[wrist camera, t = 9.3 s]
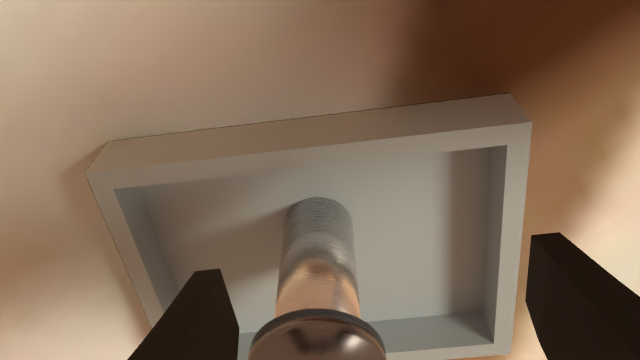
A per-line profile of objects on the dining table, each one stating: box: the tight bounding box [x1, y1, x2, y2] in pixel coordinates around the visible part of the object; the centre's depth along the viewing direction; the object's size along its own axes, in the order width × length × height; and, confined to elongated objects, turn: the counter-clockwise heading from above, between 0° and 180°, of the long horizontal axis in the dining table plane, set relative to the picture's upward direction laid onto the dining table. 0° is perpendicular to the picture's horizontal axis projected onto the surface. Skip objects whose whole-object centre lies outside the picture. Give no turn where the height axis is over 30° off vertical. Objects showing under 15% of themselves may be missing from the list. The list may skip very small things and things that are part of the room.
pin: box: [248, 197, 387, 360], centre depth 20 cm, size 4×4×8 cm
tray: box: [85, 93, 533, 360], centre depth 23 cm, size 16×12×2 cm
